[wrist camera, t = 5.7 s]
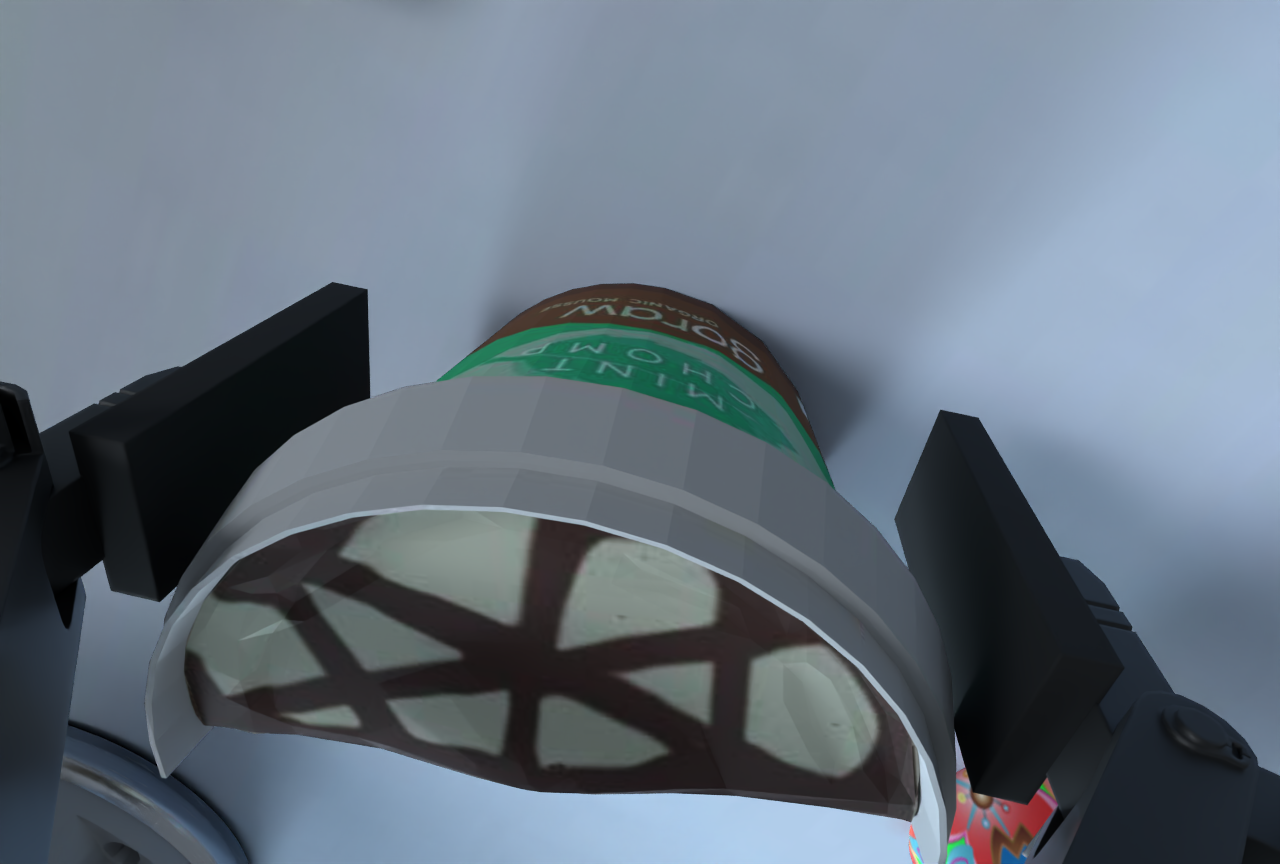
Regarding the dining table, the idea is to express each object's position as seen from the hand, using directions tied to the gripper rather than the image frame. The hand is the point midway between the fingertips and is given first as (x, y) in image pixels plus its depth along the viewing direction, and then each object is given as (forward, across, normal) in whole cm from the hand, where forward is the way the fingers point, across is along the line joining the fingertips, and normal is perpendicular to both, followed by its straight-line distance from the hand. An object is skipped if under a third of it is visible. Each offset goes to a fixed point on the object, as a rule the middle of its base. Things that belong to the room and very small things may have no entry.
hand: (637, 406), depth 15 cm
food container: (+3, 0, 0) cm, 3 cm away
